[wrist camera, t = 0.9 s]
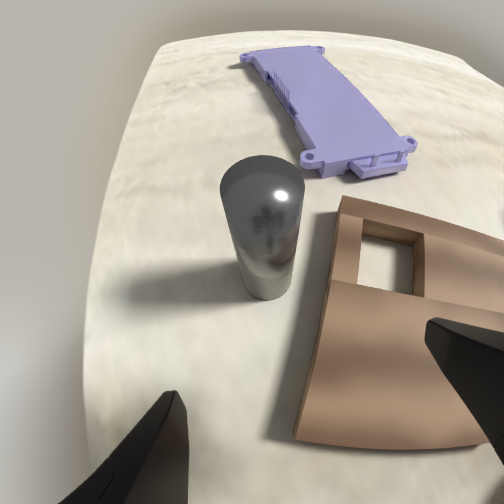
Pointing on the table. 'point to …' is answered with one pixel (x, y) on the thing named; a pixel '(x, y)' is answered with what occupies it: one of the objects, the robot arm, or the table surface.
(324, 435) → the walnut stool seat
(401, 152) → the computer part
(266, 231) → the stool leg
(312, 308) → the table surface
